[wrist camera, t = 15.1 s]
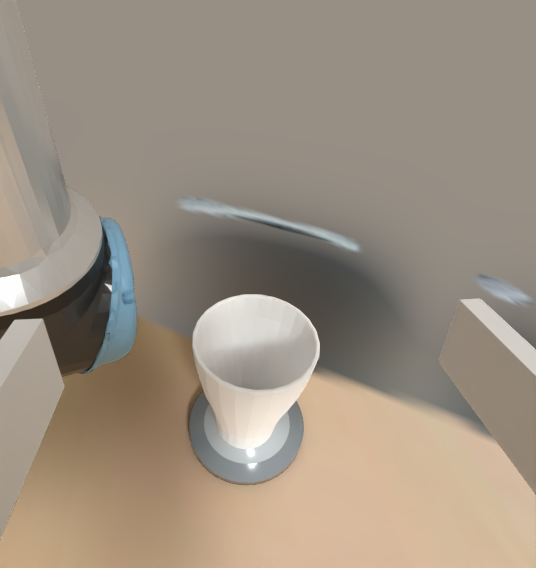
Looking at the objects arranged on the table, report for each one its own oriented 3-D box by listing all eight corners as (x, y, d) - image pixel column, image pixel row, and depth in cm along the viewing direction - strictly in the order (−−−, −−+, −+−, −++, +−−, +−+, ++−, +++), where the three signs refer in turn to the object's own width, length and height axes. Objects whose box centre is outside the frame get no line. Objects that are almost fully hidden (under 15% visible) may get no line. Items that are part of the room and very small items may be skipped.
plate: (164, 435, 40) (164, 428, 39) (237, 361, 48) (238, 355, 47) (258, 512, 36) (259, 507, 35) (321, 418, 43) (324, 412, 43)
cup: (308, 460, 38) (339, 381, 29) (201, 483, 36) (200, 404, 27) (280, 373, 46) (298, 288, 37) (189, 386, 43) (185, 299, 34)
